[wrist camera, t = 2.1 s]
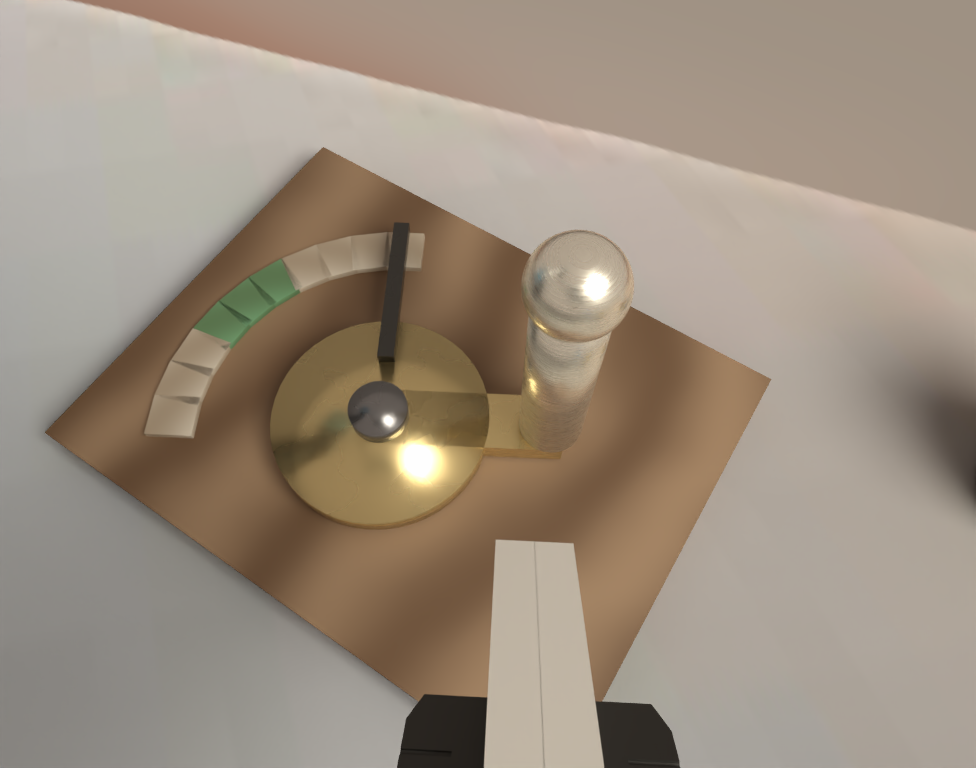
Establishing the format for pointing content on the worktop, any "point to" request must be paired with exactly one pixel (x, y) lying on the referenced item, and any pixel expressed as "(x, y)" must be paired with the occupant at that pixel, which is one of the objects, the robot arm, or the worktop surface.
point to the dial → (444, 391)
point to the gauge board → (496, 485)
